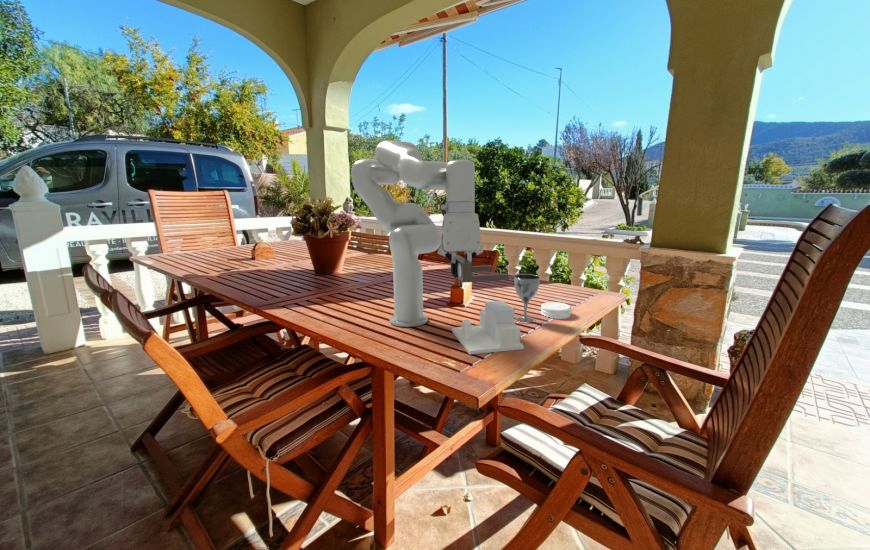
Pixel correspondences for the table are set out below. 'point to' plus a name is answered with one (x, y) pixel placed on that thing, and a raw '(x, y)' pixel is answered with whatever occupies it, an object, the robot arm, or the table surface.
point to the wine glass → (526, 291)
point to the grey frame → (467, 269)
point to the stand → (490, 330)
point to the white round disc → (556, 310)
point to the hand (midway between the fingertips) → (460, 275)
